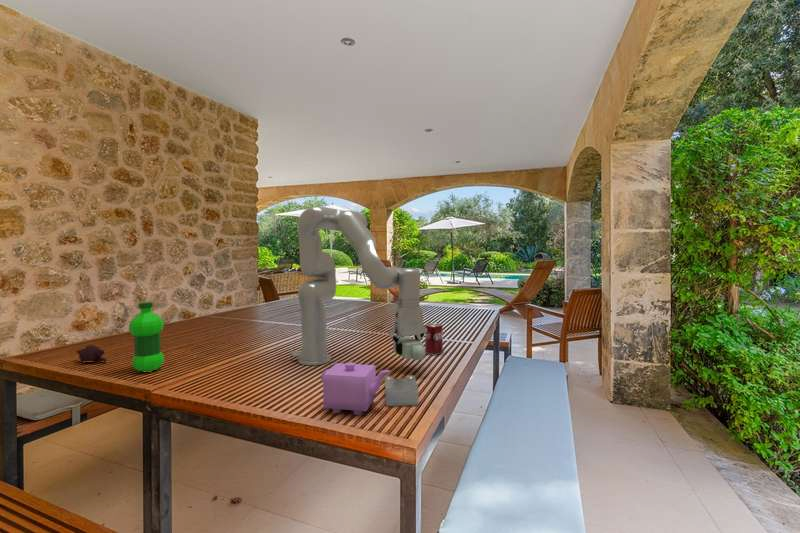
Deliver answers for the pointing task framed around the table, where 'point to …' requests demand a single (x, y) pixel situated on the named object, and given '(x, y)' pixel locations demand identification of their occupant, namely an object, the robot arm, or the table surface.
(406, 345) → the sage hinge leaf
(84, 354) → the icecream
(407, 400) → the steel hinge leaf
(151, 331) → the plastic bottle
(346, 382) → the teapot
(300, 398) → the table surface
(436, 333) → the soda can
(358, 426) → the table surface
